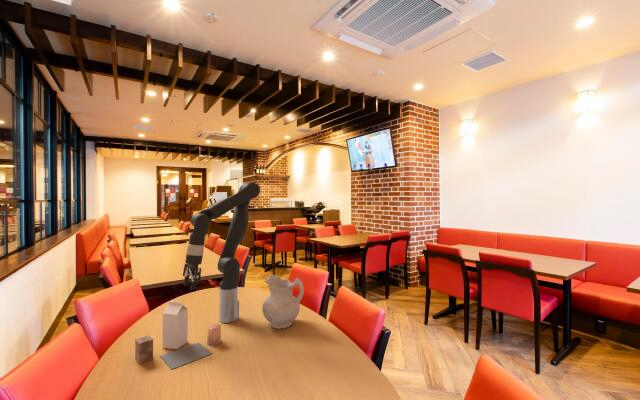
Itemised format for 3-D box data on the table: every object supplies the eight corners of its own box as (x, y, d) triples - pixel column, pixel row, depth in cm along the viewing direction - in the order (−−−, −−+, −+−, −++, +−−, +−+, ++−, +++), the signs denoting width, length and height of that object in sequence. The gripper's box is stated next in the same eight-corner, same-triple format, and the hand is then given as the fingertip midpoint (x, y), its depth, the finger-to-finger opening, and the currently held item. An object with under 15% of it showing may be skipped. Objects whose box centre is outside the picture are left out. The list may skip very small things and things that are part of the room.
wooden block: (149, 354, 122) (149, 335, 122) (153, 359, 118) (153, 339, 118) (135, 359, 118) (135, 339, 118) (138, 364, 115) (139, 343, 114)
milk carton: (176, 349, 125) (177, 305, 125) (162, 348, 127) (162, 304, 127) (187, 341, 132) (187, 299, 132) (173, 340, 134) (173, 298, 134)
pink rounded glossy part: (217, 338, 136) (217, 323, 136) (223, 342, 132) (223, 327, 132) (205, 342, 132) (205, 327, 132) (211, 347, 128) (211, 331, 128)
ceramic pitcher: (306, 320, 160) (307, 273, 161) (300, 333, 140) (301, 280, 142) (267, 318, 162) (268, 272, 163) (256, 331, 142) (258, 279, 144)
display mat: (198, 342, 132) (198, 342, 132) (212, 353, 123) (212, 353, 123) (159, 356, 120) (159, 355, 120) (171, 369, 111) (171, 368, 111)
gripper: (208, 256, 143) (203, 290, 141) (195, 252, 152) (190, 284, 151) (193, 255, 137) (187, 291, 135) (181, 251, 147) (175, 285, 145)
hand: (189, 287), depth 143 cm, fingers open, 8 cm apart
